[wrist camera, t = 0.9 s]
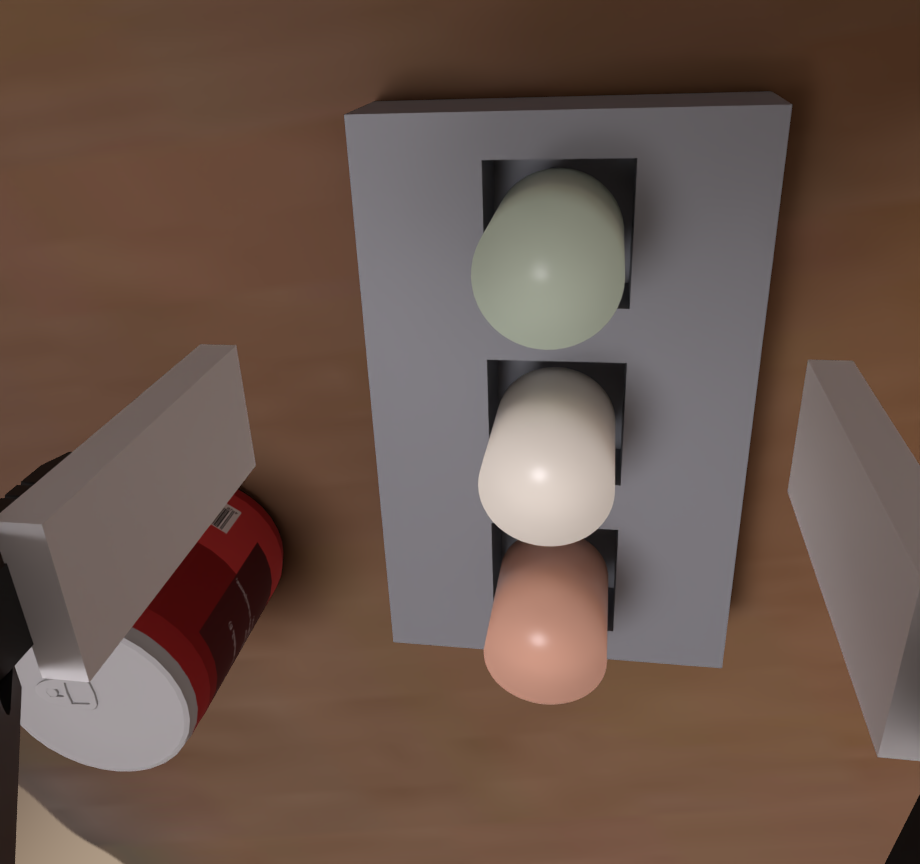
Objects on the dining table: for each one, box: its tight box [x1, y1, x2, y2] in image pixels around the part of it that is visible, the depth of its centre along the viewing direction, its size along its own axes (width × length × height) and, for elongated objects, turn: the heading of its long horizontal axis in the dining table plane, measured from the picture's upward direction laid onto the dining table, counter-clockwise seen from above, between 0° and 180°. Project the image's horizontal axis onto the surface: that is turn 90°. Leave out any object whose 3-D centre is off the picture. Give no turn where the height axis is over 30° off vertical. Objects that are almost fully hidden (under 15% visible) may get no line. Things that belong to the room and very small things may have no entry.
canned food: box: [15, 489, 283, 771], centre depth 38 cm, size 8×8×11 cm
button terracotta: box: [484, 539, 608, 705], centre depth 33 cm, size 4×4×5 cm
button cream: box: [478, 367, 615, 546], centre depth 30 cm, size 4×4×5 cm
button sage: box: [471, 168, 625, 350], centre depth 27 cm, size 4×4×5 cm
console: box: [344, 91, 792, 668], centre depth 34 cm, size 22×14×4 cm, turn 3°
